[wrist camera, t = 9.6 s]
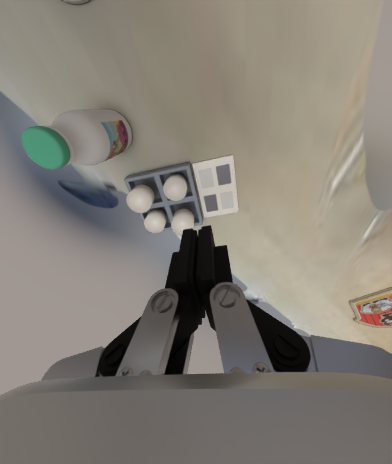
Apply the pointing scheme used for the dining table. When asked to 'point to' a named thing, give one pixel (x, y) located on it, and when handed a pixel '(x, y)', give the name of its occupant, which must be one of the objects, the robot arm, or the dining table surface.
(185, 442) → the robot arm
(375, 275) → the dining table surface
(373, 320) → the coat of arms plaque
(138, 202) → the button
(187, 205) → the button board
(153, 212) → the button
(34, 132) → the milk bottle
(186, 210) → the button
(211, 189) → the card
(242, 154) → the dining table surface
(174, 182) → the button
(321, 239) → the dining table surface
